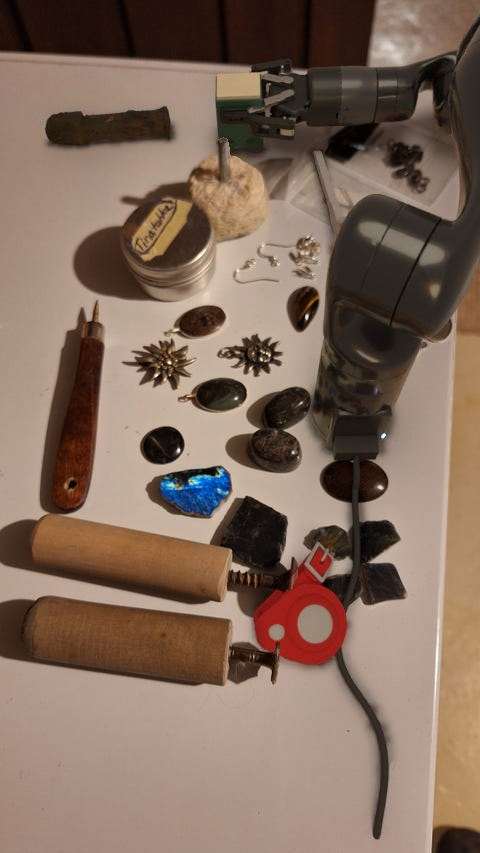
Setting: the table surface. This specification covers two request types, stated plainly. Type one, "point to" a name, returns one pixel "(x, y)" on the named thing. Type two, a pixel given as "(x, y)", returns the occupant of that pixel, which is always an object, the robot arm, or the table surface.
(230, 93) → the camper van
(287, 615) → the tracker holder
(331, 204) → the caliper
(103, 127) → the hand tool
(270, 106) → the robot arm
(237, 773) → the table surface
